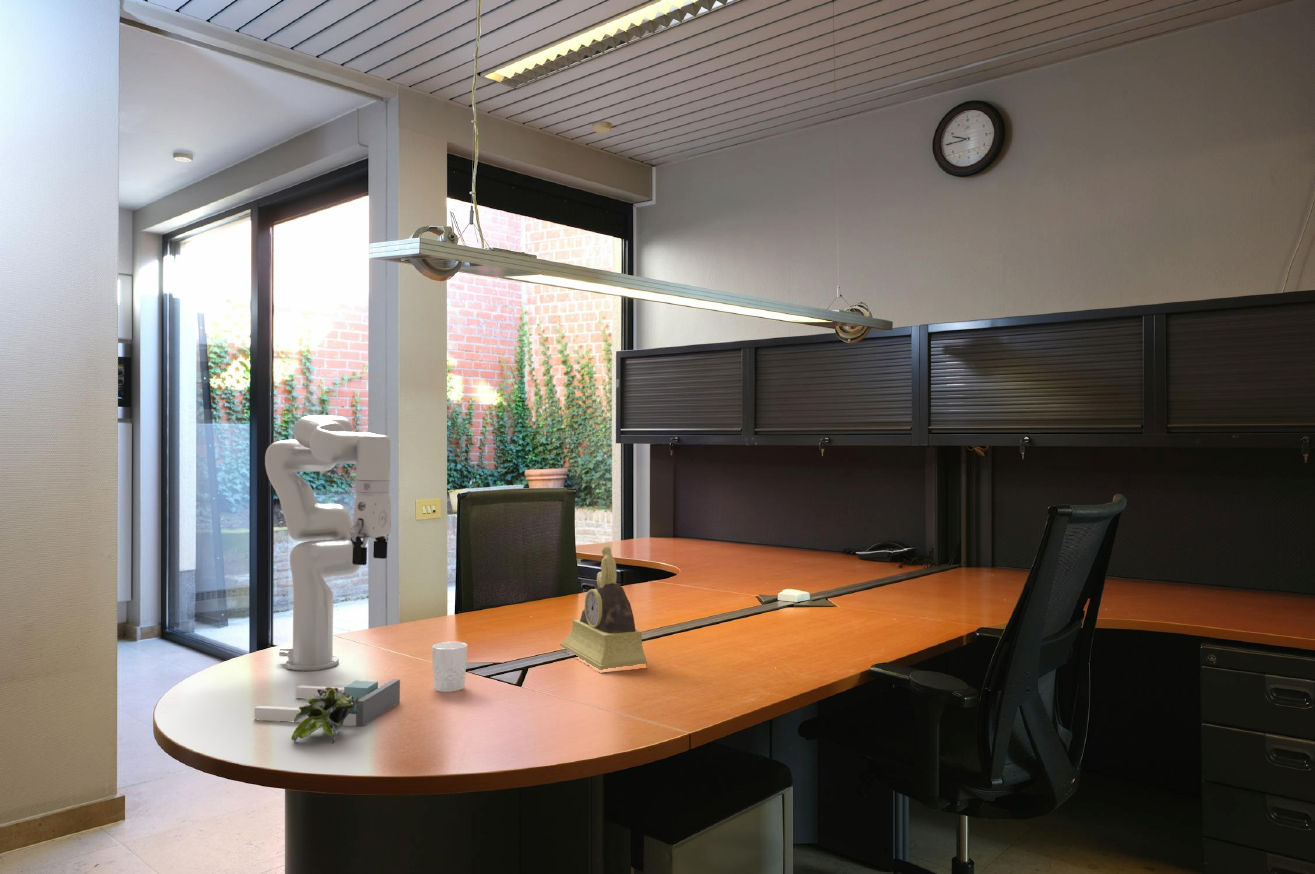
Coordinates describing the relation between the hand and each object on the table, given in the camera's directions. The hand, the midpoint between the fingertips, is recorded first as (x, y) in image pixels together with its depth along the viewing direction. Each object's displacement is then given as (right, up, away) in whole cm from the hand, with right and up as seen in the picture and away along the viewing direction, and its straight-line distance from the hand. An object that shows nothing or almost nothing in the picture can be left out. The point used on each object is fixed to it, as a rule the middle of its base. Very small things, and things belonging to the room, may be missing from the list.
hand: (369, 561), depth 204 cm
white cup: (+18, -30, +1) cm, 35 cm away
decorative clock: (+52, -31, +31) cm, 68 cm away
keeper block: (+4, -29, -19) cm, 35 cm away
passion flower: (+3, -29, -35) cm, 46 cm away
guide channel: (-3, -29, -18) cm, 34 cm away
